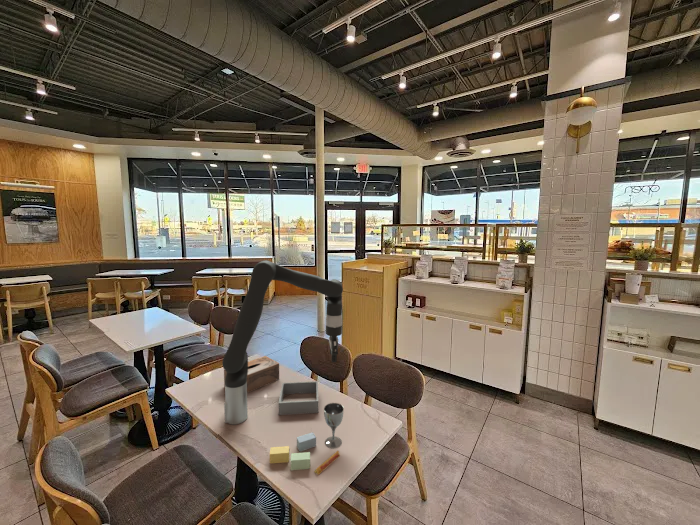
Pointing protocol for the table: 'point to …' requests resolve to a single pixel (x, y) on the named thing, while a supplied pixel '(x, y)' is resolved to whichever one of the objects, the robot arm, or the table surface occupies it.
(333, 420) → the wine glass
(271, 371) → the tissue box cover
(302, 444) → the slate brick
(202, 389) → the table surface
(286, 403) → the frame
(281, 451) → the ochre brick
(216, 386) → the table surface
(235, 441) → the table surface
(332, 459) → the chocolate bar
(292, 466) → the sage brick
